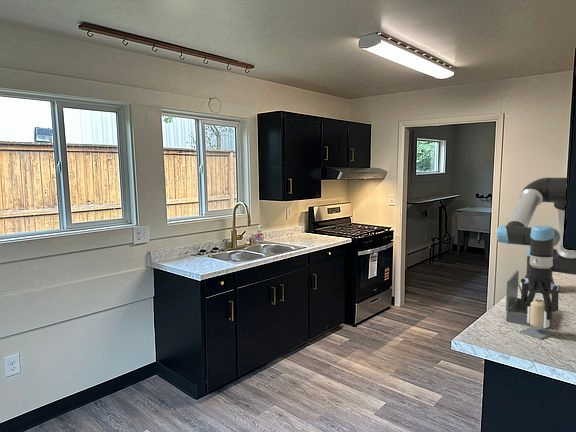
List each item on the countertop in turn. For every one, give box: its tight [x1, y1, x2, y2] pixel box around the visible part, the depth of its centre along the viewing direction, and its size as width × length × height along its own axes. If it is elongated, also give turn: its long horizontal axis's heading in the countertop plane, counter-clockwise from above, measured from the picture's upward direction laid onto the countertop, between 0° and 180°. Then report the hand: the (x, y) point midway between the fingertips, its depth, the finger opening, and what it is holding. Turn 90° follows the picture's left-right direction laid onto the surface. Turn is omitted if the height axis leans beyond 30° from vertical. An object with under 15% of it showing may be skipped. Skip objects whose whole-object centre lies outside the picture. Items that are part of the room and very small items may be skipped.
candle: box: [530, 298, 546, 328], centre depth 156 cm, size 6×6×10 cm
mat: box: [519, 326, 556, 340], centre depth 157 cm, size 10×8×1 cm
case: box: [505, 270, 547, 330], centre depth 173 cm, size 23×14×18 cm, turn 141°
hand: (537, 324), depth 157 cm, fingers closed on candle, 5 cm apart
